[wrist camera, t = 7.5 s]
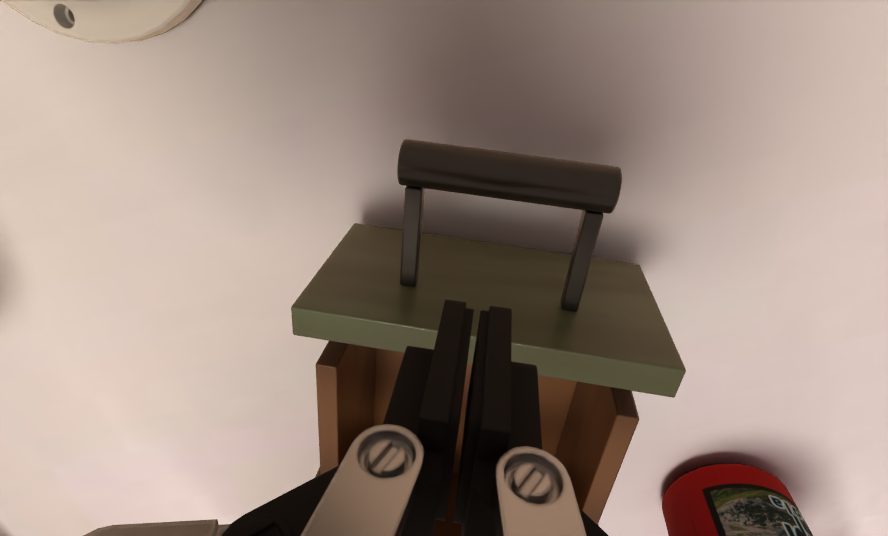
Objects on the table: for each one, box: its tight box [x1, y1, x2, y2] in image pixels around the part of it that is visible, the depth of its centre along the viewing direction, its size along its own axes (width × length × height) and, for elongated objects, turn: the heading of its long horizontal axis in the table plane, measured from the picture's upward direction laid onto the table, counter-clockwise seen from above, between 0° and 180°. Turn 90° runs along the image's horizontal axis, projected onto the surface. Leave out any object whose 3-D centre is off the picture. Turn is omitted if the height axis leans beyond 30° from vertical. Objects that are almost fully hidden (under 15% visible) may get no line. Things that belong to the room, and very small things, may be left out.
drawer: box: [291, 139, 686, 536], centre depth 22 cm, size 20×13×7 cm, turn 175°
